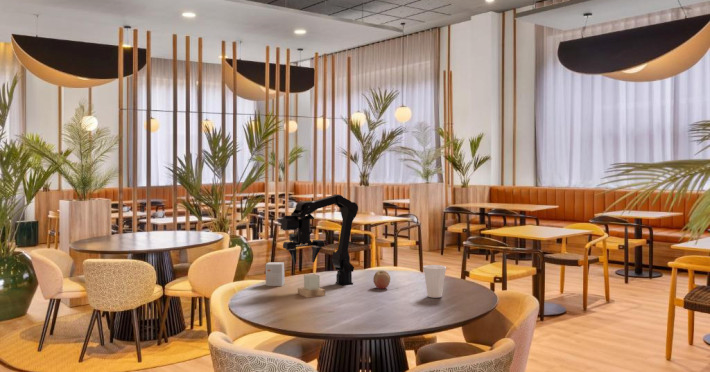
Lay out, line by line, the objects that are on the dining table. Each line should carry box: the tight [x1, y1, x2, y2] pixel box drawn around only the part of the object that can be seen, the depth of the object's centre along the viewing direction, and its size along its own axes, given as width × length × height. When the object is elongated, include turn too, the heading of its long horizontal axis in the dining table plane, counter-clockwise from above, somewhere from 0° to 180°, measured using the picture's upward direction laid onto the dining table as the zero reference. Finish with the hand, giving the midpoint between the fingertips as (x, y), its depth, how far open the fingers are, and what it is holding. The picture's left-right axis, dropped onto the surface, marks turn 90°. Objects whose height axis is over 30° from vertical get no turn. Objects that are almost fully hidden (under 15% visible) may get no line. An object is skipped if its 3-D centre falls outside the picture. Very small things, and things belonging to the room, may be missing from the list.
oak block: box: [297, 287, 326, 299], centre depth 258 cm, size 9×9×3 cm
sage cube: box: [303, 273, 321, 290], centre depth 259 cm, size 5×5×6 cm
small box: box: [265, 261, 285, 287], centre depth 280 cm, size 8×6×10 cm
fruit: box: [372, 270, 391, 290], centre depth 271 cm, size 8×8×8 cm
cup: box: [422, 264, 447, 299], centre depth 253 cm, size 10×10×13 cm
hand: (304, 263), depth 270 cm, fingers open, 9 cm apart
